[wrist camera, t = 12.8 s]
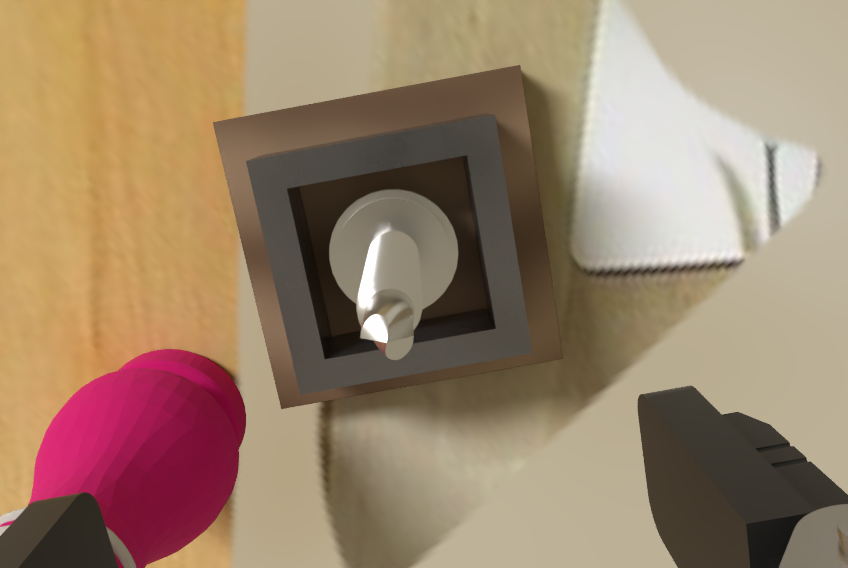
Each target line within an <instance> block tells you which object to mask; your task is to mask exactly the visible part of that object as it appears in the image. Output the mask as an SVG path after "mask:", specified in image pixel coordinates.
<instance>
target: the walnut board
mask: <svg viewBox="0 0 848 568" xmlns="http://www.w3.org/2000/svg"><path fill="white" fill-rule="evenodd" d="M486 113H488V114H493V115H495V117H496V123H497V130H498V136H499V143H500V149H501V155H502V162H503V168H504V175H505V181H506V187H507V194H508V200H509V207H510V213H511V219H512V226H513V232H514V239H515V245H516V251H517V258H518V264H519V271H520V277H521V284H522V290H523V296H524V303H525V309H526V316H527V322H528V328H529V335H530V341H531V348H532V353H531V354H525V355H519V356H514V357H508V358H503V359H497V360H492V361H486V362H480V363H475V364H469V365H464V366H458V367H452V368H447V369H441V370H436V371H430V372H424V373H419V374H413V375H408V376H402V377H397V378H391V379H385V380H380V381H374V382H369V383H363V384H357V385H352V386H346V387H341V388H335V389H329V390H324V391H318V392H313V393H307V394H302V395H300V392H299V387H298V383H297V379H296V374H295V370H294V366H293V361H292V357H291V353H290V349H289V344H288V340H287V336H286V331H285V327H284V323H283V319H282V314H281V310H280V306H279V301H278V297H277V293H276V288H275V284H274V280H273V276H272V271H271V267H270V263H269V258H268V254H267V250H266V245H265V241H264V237H263V233H262V228H261V224H260V220H259V215H258V211H257V207H256V203H255V198H254V194H253V190H252V185H251V181H250V177H249V172H248V168H247V164H246V161H247V160H250V159H253V158H255V157H258V156H260V155H265V154H270V153H276V152H281V151H286V150H292V149H297V148H303V147H308V146H313V145H319V144H324V143H329V142H335V141H340V140H346V139H351V138H356V137H362V136H367V135H373V134H378V133H383V132H389V131H394V130H400V129H405V128H410V127H416V126H421V125H426V124H432V123H437V122H443V121H448V120H453V119H459V118H464V117H470V116H475V115H480V114H486ZM213 125H214V129H215V134H216V138H217V142H218V146H219V150H220V154H221V159H222V163H223V167H224V171H225V175H226V180H227V184H228V188H229V192H230V196H231V200H232V205H233V209H234V213H235V217H236V221H237V225H238V230H239V234H240V238H241V242H242V246H243V250H244V255H245V259H246V263H247V267H248V271H249V275H250V279H251V283H252V288H253V292H254V296H255V300H256V305H257V309H258V313H259V317H260V321H261V325H262V330H263V334H264V338H265V342H266V346H267V350H268V355H269V359H270V363H271V367H272V371H273V375H274V380H275V384H276V388H277V392H278V396H279V400H280V405H281V409H284V408H289V407H295V406H300V405H306V404H312V403H317V402H323V401H328V400H334V399H340V398H345V397H351V396H356V395H362V394H368V393H373V392H379V391H384V390H390V389H396V388H401V387H407V386H412V385H418V384H424V383H429V382H435V381H440V380H446V379H452V378H457V377H463V376H468V375H474V374H480V373H485V372H491V371H496V370H502V369H508V368H513V367H519V366H524V365H530V364H536V363H541V362H547V361H552V360H558V359H563V354H562V347H561V341H560V334H559V327H558V320H557V313H556V307H555V300H554V293H553V286H552V279H551V272H550V266H549V259H548V252H547V245H546V238H545V231H544V225H543V218H542V211H541V204H540V197H539V191H538V184H537V177H536V170H535V163H534V156H533V150H532V143H531V136H530V129H529V122H528V115H527V109H526V102H525V95H524V88H523V81H522V75H521V68H520V65H518V66H512V67H507V68H502V69H496V70H491V71H486V72H480V73H475V74H469V75H464V76H459V77H453V78H448V79H443V80H437V81H432V82H427V83H421V84H416V85H411V86H405V87H400V88H395V89H389V90H384V91H378V92H373V93H368V94H362V95H357V96H352V97H347V98H342V99H336V100H330V101H325V102H320V103H314V104H309V105H303V106H298V107H293V108H287V109H282V110H277V111H271V112H267V113H261V114H255V115H250V116H245V117H239V118H234V119H228V120H223V121H218V122H213ZM395 188H399V189H404V190H410V191H413V192H416V193H418V194H421V195H423V196H425V197H427V198H428V199H430V200H431V201H432V202H434V203H435V204H437V206H438V207H439V208H440V209H441V210H442V211H443V212H444V213H445V214H446V216H447V218H448V219H449V221H450V223H451V225H452V226H453V229H454V232H455V235H456V239H457V244H458V261H457V268H456V271H455V274H454V276H453V279H452V281H451V283H450V284H449V286H448V287H447V289H446V291H445V292H444V293H443V294H442V295H441V296H440V297H439V298H438V299H437V300H436V301H435V302H434V303H432V304H431V305H429V306H428V307H426V308H424V309H423V310H422V313H421V318H420V320H423V319H428V318H434V317H439V316H445V315H450V314H456V313H461V312H467V311H473V310H478V309H484V308H488V306H487V300H486V294H485V288H484V282H483V277H482V271H481V265H480V259H479V253H478V247H477V241H476V235H475V229H474V223H473V217H472V211H471V205H470V199H469V193H468V187H467V181H466V175H465V169H464V163H463V157H462V156H460V157H455V158H449V159H444V160H439V161H433V162H428V163H422V164H417V165H411V166H406V167H401V168H395V169H390V170H384V171H379V172H374V173H368V174H363V175H357V176H352V177H346V178H341V179H336V180H330V181H325V182H319V183H314V184H309V185H303V186H300V190H301V195H302V200H303V204H304V209H305V213H306V218H307V223H308V227H309V232H310V236H311V241H312V245H313V250H314V255H315V259H316V264H317V268H318V273H319V278H320V282H321V287H322V291H323V296H324V300H325V305H326V310H327V314H328V319H329V323H330V328H331V332H332V336H334V335H339V334H345V333H351V332H356V331H361V326H360V323H359V320H358V315H357V309H356V305H357V304H356V303H354V302H353V301H352V300H351V299H350V298H348V297H347V296H346V294H345V293H344V292H343V291H342V289H341V288H340V287H339V286H338V283H337V281H336V279H335V277H334V275H333V273H332V269H331V264H330V260H329V245H330V240H331V236H332V232H333V230H334V228H335V225H336V223H337V221H338V219H339V218H340V216H341V215H342V214H343V213H344V211H345V210H346V209H347V208H348V207H349V206H350V205H351V204H352V203H354V202H355V201H356V200H357V199H359V198H361V197H363V196H364V195H366V194H368V193H370V192H374V191H378V190H382V189H395Z"/></svg>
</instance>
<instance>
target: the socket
mask: <svg viewBox="0 0 848 568" xmlns="http://www.w3.org/2000/svg"><path fill="white" fill-rule="evenodd" d="M460 156H462V157H463V163H464V169H465V175H466V181H467V187H468V193H469V199H470V205H471V211H472V217H473V223H474V229H475V235H476V241H477V247H478V253H479V259H480V265H481V271H482V277H483V282H484V288H485V294H486V300H487V306H488V308H484V309H478V310H473V311H467V312H461V313H456V314H450V315H445V316H439V317H434V318H428V319H423V320H420V321H419V323H418V325H417V326H416V328H415V329H414V338H413V344H412V347H411V349H410V350H409V352H408V353H407V354H406V355H405V356H404V357H403V358H401V359H399V360H391V359H389V358H388V357H386V356H385V355H384V354H383V353H382V352H381V351H380V350H379V348H378V347H377V346H376V344H375V342H374V341H373V340H368V339H362V338H360V336H361V331H356V332H351V333H345V334H339V335H334V336H332V332H331V328H330V323H329V319H328V314H327V310H326V305H325V300H324V296H323V291H322V287H321V282H320V278H319V273H318V268H317V264H316V259H315V255H314V250H313V245H312V241H311V236H310V232H309V227H308V223H307V218H306V213H305V209H304V204H303V200H302V195H301V190H300V186H303V185H309V184H314V183H319V182H325V181H330V180H336V179H341V178H346V177H352V176H357V175H363V174H368V173H374V172H379V171H384V170H390V169H395V168H401V167H406V166H411V165H417V164H422V163H428V162H433V161H439V160H444V159H449V158H455V157H460ZM246 164H247V168H248V172H249V177H250V181H251V185H252V190H253V194H254V198H255V203H256V207H257V211H258V215H259V220H260V224H261V228H262V233H263V237H264V241H265V245H266V250H267V254H268V258H269V263H270V267H271V271H272V276H273V280H274V284H275V288H276V293H277V297H278V301H279V306H280V310H281V314H282V319H283V323H284V327H285V331H286V336H287V340H288V344H289V349H290V353H291V357H292V361H293V366H294V370H295V374H296V379H297V383H298V387H299V392H300V395H302V394H307V393H313V392H318V391H324V390H329V389H335V388H341V387H346V386H352V385H357V384H363V383H369V382H374V381H380V380H385V379H391V378H397V377H402V376H408V375H413V374H419V373H424V372H430V371H436V370H441V369H447V368H452V367H458V366H464V365H469V364H475V363H480V362H486V361H492V360H497V359H503V358H508V357H514V356H519V355H525V354H531V353H532V348H531V341H530V335H529V328H528V322H527V316H526V309H525V303H524V296H523V290H522V284H521V277H520V271H519V264H518V258H517V251H516V245H515V239H514V232H513V226H512V219H511V213H510V207H509V200H508V194H507V187H506V181H505V175H504V168H503V162H502V155H501V149H500V143H499V136H498V130H497V123H496V117H495V115H493V114H488V113H486V114H480V115H475V116H470V117H464V118H459V119H453V120H448V121H443V122H437V123H432V124H426V125H421V126H416V127H410V128H405V129H400V130H394V131H389V132H383V133H378V134H373V135H367V136H362V137H356V138H351V139H346V140H340V141H335V142H329V143H324V144H319V145H313V146H308V147H303V148H297V149H292V150H286V151H281V152H276V153H270V154H265V155H260V156H258V157H255V158H253V159H250V160H247V161H246Z"/></svg>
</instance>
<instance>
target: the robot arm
mask: <svg viewBox="0 0 848 568" xmlns="http://www.w3.org/2000/svg"><path fill="white" fill-rule="evenodd" d="M638 416H639V424H640V432H641V440H642V449H643V456H644V465H645V473H646V480H647V488H648V496H649V502H650V506H651V511H652V514H653V518H654V521H655V524H656V527H657V530H658V533H659V535H660V537H661V539H662V541H663V543H664V544H665V546H666V548H667V550H668V551H669V553H670V555H671V556H672V558H673V560H674V562H675V563H676V565H677V567H678V568H848V495H847V494H846V493H845V492H844V491H843V490H842V489H841V488H839V487H838V486H837V485H836V484H835V483H834V482H833V481H832V480H831V479H829V478H828V477H827V476H826V475H825V474H824V473H823V472H822V471H821V470H819V469H818V468H817V467H816V466H815V465H814V464H813V463H812V462H807V459H806V457H805V456H804V455H803V454H802V453H801V452H799V451H798V450H797V449H796V448H795V447H794V446H790V443H789V442H788V441H787V440H786V439H785V438H784V437H783V436H782V435H781V434H779V433H778V432H777V431H776V430H775V429H774V428H773V427H772V426H771V425H769V424H767V423H764V422H762V421H759V420H757V419H754V418H752V417H749V416H747V415H744V414H742V413H739V412H735V413H729V414H724V415H721V414H720V413H719V412H718V411H717V410H716V409H715V408H714V407H713V406H712V405H711V404H710V403H709V402H708V401H707V400H706V399H705V398H704V397H703V396H702V395H701V394H700V393H699V392H698V391H697V390H696V388H694V387H693V386H686V387H681V388H675V389H670V390H664V391H658V392H652V393H647V394H641V395H640V396H639V398H638ZM0 568H118V564H117V561H116V558H115V555H114V551H113V548H112V545H111V542H110V539H109V535H108V532H107V529H106V526H105V522H104V519H103V516H102V513H101V510H100V507H99V504H98V502H97V501H96V499H95V498H94V497H93V496H92V495H91V494H90V493H87V492H83V493H78V494H72V495H66V496H61V497H55V498H50V499H44V500H38V501H34V502H32V503H31V504H30V505H28V506H27V508H26V509H25V510H24V511H23V512H22V513H21V514H20V515H19V516H18V517H17V518H16V519H15V520H14V522H13V523H12V524H11V525H10V526H9V527H8V528H7V529H6V530H5V531H4V532H3V533H2V535H1V536H0Z"/></svg>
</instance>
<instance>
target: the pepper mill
mask: <svg viewBox="0 0 848 568" xmlns="http://www.w3.org/2000/svg"><path fill="white" fill-rule="evenodd" d="M245 427H246V413H245V406H244V402H243V399H242V397H241V394H240V392H239V390H238V388H237V387H236V385H235V383H234V382H233V380H232V379H231V378H230V377H229V375H228V374H227V373H226V372H225V371H224V370H223V369H221V368H220V367H219V366H218V365H216V364H215V363H214V362H212V361H210V360H208V359H207V358H205V357H203V356H200V355H198V354H195V353H192V352H188V351H183V350H176V349H164V350H156V351H151V352H148V353H145V354H142V355H140V356H138V357H136V358H134V359H133V360H131V361H129V362H128V363H126V364H125V365H124V366H123V367H122V368H121V369H119V370H118V371H116V372H112V373H108V374H106V375H104V376H101V377H99V378H97V379H95V380H93V381H92V382H90V383H88V384H87V385H85V386H83V387H82V388H81V389H80V390H78V391H77V392H76V393H75V394H74V395H73V396H72V397H71V398H70V399H69V400H68V402H67V403H66V404H65V405H64V406H63V408H62V409H61V410H60V411H59V412H58V414H57V415H56V416H55V417H54V419H53V420H52V422H51V424H50V425H49V427H48V429H47V431H46V433H45V436H44V438H43V441H42V444H41V446H40V449H39V452H38V455H37V457H36V463H35V471H34V483H33V490H32V496H31V500H30V502H29V504H28V505H30V504H31V503H32V502H34V501H38V500H44V499H50V498H55V497H61V496H66V495H72V494H78V493H83V492H87V493H90V494H91V495H92V496H93V497H94V498H95V499H96V501H97V502H98V504H99V507H100V510H101V513H102V516H103V519H104V522H105V526H106V529H107V532H108V535H109V539H110V542H111V545H112V548H113V551H114V555H115V558H116V561H117V564H118V568H145V566H146V565H147V564H150V563H152V562H154V561H157V560H159V559H162V558H164V557H167V556H169V555H171V554H173V553H175V552H177V551H179V550H180V549H182V548H183V547H184V546H186V545H187V544H189V543H190V542H192V541H193V540H194V539H195V538H197V537H198V536H199V535H200V534H202V533H203V532H204V531H205V530H206V529H207V528H208V527H209V526H210V525H211V524H212V523H213V522H214V521H215V519H216V518H217V516H218V515H219V513H220V512H221V510H222V508H223V507H224V505H225V504H226V502H227V500H228V498H229V497H230V495H231V493H232V491H233V488H234V484H235V481H236V478H237V474H238V463H239V451H238V449H239V447H240V445H241V443H242V440H243V437H244V434H245ZM26 508H27V507H26ZM26 508H22V509H18V510H15V511H12V512H9V513H6V514H4V515H2V516H0V536H1V535H2V533H3V532H4V531H5V530H6V529H7V528H8V527H9V526H10V525H11V524H12V523H13V522H14V520H15V519H16V518H17V517H18V516H19V515H20V514H21V513H22V512H23V511H24V510H25V509H26Z"/></svg>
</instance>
